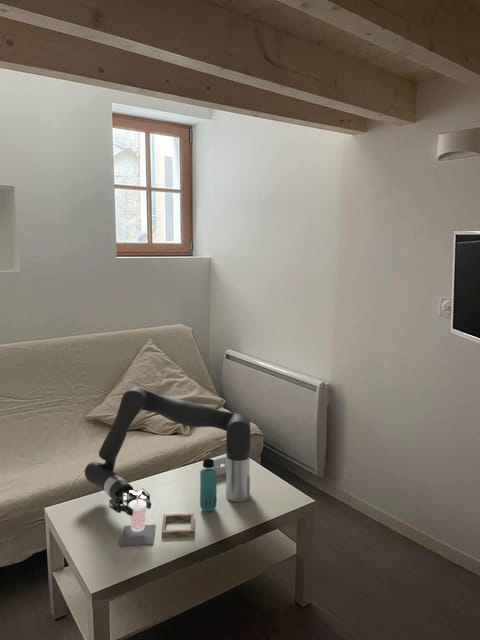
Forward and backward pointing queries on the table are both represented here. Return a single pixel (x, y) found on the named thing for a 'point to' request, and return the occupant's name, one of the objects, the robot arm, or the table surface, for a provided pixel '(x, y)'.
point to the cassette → (217, 466)
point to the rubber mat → (138, 536)
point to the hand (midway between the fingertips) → (141, 509)
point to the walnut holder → (177, 532)
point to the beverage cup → (138, 514)
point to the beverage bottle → (208, 486)
